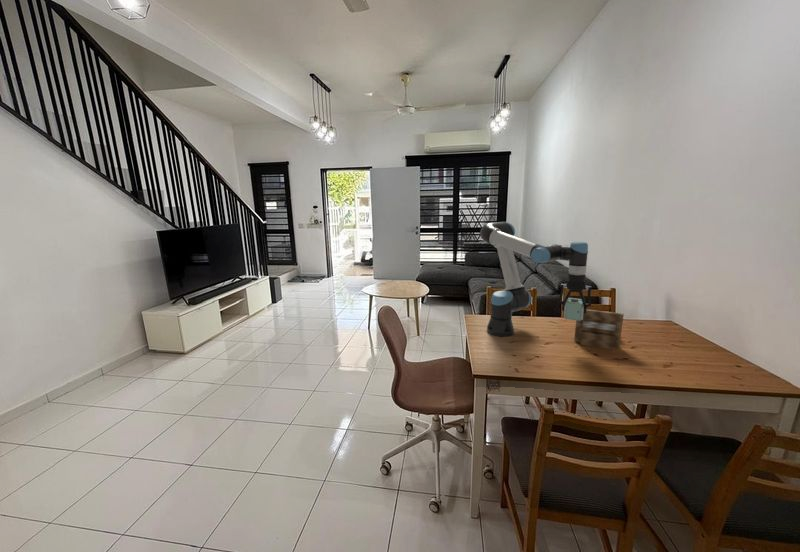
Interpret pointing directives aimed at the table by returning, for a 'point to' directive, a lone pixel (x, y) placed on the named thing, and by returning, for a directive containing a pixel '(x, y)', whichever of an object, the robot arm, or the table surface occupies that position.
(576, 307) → the cabinet
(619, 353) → the table surface
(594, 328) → the wall board
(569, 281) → the robot arm
